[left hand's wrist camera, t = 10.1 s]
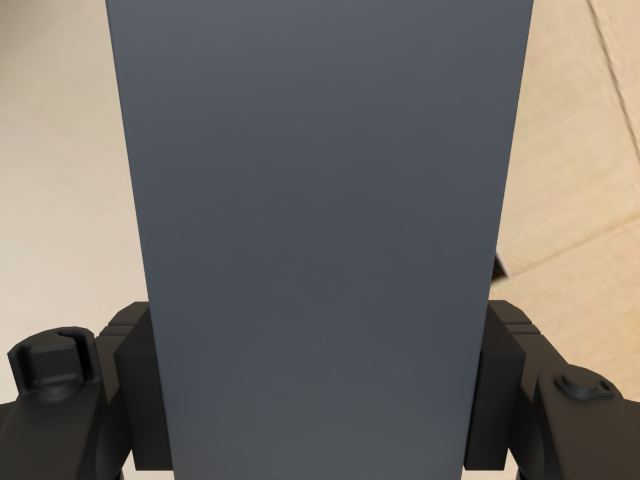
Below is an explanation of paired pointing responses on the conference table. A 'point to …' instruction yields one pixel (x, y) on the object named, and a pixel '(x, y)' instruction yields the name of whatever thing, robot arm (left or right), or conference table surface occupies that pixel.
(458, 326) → the bar
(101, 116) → the conference table surface
